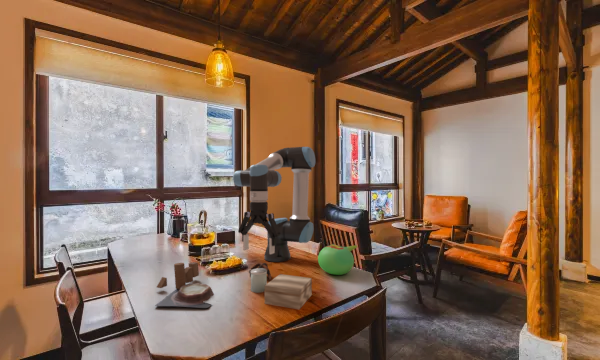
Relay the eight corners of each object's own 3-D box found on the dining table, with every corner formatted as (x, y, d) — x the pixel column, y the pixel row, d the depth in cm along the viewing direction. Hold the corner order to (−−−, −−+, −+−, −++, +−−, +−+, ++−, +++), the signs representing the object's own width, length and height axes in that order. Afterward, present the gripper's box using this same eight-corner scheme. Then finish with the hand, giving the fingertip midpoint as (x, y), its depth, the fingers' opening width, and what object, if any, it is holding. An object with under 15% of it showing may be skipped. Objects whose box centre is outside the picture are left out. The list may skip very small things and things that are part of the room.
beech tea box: (280, 290, 121) (280, 274, 121) (311, 295, 116) (311, 278, 116) (264, 304, 107) (264, 285, 107) (299, 310, 102) (299, 290, 102)
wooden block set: (192, 278, 135) (191, 256, 135) (205, 279, 131) (203, 257, 131) (156, 291, 120) (154, 267, 120) (169, 294, 115) (167, 268, 116)
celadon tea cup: (257, 285, 126) (257, 267, 126) (270, 288, 122) (270, 269, 122) (247, 290, 120) (247, 271, 120) (260, 294, 116) (260, 274, 116)
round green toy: (311, 273, 142) (311, 243, 142) (331, 265, 154) (331, 238, 154) (341, 282, 130) (341, 249, 129) (361, 273, 142) (361, 243, 142)
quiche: (181, 286, 125) (181, 277, 125) (226, 289, 124) (226, 279, 124) (153, 306, 105) (154, 295, 105) (207, 309, 103) (208, 298, 103)
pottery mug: (270, 283, 128) (261, 268, 127) (253, 291, 130) (243, 276, 129) (276, 269, 140) (267, 255, 139) (260, 276, 142) (251, 262, 141)
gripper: (230, 200, 123) (230, 249, 123) (278, 203, 112) (278, 257, 111) (241, 199, 130) (241, 246, 130) (288, 201, 118) (288, 253, 118)
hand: (258, 251), depth 121 cm, fingers open, 13 cm apart
